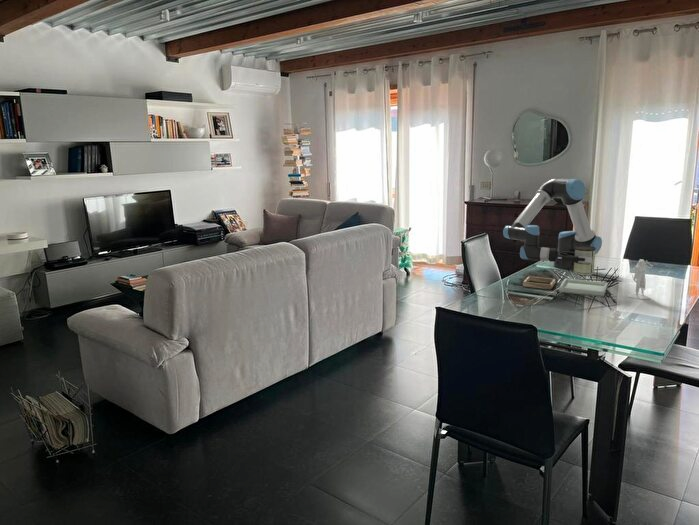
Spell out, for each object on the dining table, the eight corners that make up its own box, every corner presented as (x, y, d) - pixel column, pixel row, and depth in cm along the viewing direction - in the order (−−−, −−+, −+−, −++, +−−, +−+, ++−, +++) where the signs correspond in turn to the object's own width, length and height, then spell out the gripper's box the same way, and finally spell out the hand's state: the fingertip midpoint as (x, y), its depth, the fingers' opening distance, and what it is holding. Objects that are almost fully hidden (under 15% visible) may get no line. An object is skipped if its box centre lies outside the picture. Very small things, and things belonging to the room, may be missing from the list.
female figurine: (621, 299, 267) (625, 261, 263) (628, 292, 279) (632, 255, 275) (645, 303, 261) (649, 264, 256) (652, 296, 273) (656, 258, 268)
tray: (564, 282, 302) (565, 278, 302) (607, 286, 292) (607, 282, 291) (558, 291, 284) (559, 287, 283) (603, 296, 273) (604, 292, 272)
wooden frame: (528, 280, 309) (528, 276, 308) (555, 283, 301) (555, 278, 301) (522, 286, 296) (523, 282, 295) (550, 289, 289) (551, 285, 288)
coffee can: (570, 270, 291) (572, 245, 288) (589, 270, 290) (591, 245, 287) (576, 275, 281) (578, 249, 278) (596, 275, 280) (598, 249, 277)
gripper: (552, 257, 303) (594, 260, 292) (545, 265, 284) (590, 269, 273) (553, 244, 301) (595, 247, 291) (545, 251, 282) (591, 255, 271)
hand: (593, 258), depth 282 cm, fingers closed on coffee can, 10 cm apart
